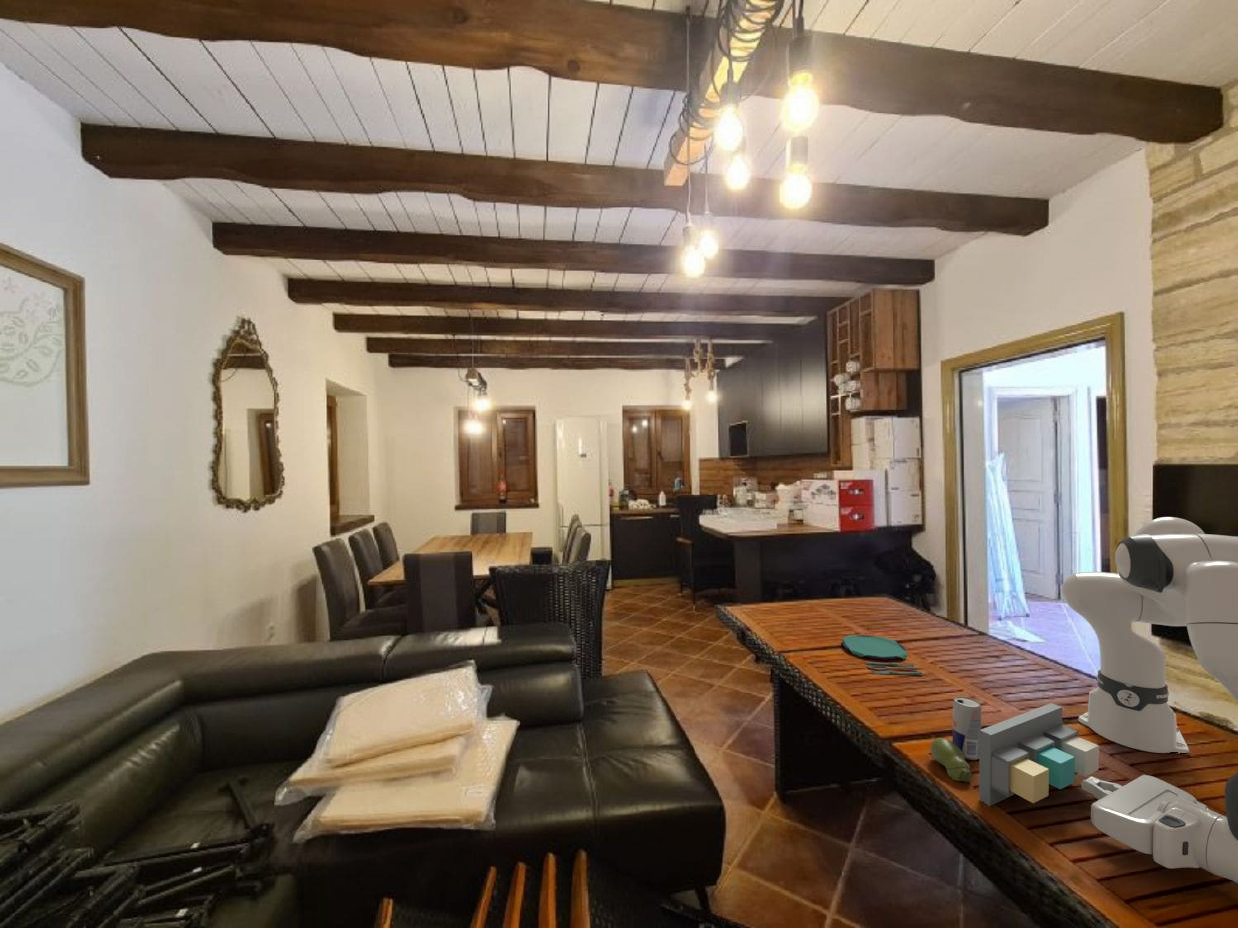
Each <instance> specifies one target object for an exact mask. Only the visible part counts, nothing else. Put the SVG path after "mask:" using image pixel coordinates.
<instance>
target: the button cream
mask: <svg viewBox="0 0 1238 928" xmlns="http://www.w3.org/2000/svg"><path fill="white" fill-rule="evenodd" d="M1062 751H1063V752H1065V753H1067V754H1069V755H1072V756H1074V757H1075V774H1076V773H1077V774H1078V775H1081V776H1082V777H1086V778H1087V777H1089V775H1091V774H1093V773H1095V772H1097V771H1099V762H1100V761H1099V759H1100V758H1099V756H1100V755H1099V754H1100V746H1099V744H1096V743H1094V742H1091V741H1090V740H1087V739H1084V738H1081V737H1080V736H1079V737H1077V736H1072V737H1070V738H1068V739H1066V740H1063V741H1062Z"/></svg>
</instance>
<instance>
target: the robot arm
mask: <svg viewBox="0 0 1238 928" xmlns="http://www.w3.org/2000/svg"><path fill="white" fill-rule="evenodd" d="M1114 560H1115V561H1114V562H1115V567H1116V572H1117V573H1115V572H1105V571H1085V572H1073V573H1071V574H1070V575H1068V576H1067V578H1066V579H1065V580H1064V582H1063V585H1062V597H1063V598H1064V601H1065V603H1066V604H1067V605H1068V607H1069V608H1070V609H1071V610H1072V611H1074V612H1076V613H1077V614H1079V615H1080V616H1081V617H1082V618H1083V619H1084V620H1086V622H1087V623H1088V624H1089V625H1090V626H1091V628H1092V629H1093V631H1094V632H1095V634H1096V638H1097V640H1098V646H1099V656H1100V658H1099V662H1100V665H1099V666H1100V669H1099V670H1098V671H1097V675H1096V680H1097V687H1096V688H1095V689H1092V690H1091V691H1089V694H1088V705H1087V707H1088V708H1087V711H1086V712H1085V713H1083V714H1081V715H1079V716H1078V719H1077V720H1078V722H1080V723H1081V724H1082V725H1084V726H1087V727H1088V728H1089V729H1091V730H1093V732H1094V733H1096V734H1098V735H1099V736H1100V737H1101V736H1102V737H1103V738H1104V739H1107V740H1109V741H1111V742H1114V743H1116V744H1118V745H1122V746H1125V747H1128V748H1130V749H1136V750H1138V751H1143V752H1149V753H1158V754H1159V753H1160V754H1167V753H1170V752H1178V753H1177V754H1180V753H1181V752H1182V753H1187V752H1189V753H1190V749H1189V747H1188V744H1187V743H1186V741H1185V739H1184V737H1183V735H1182V733H1181V730H1180V729H1179V727H1178V725H1177V714H1176V713H1175V712H1174V710H1173V709H1172V708H1171V707H1170V705H1169V704H1168V701H1169V695H1170V694H1169V693H1170V691H1169V689H1168V687H1169V686H1168V685H1167V684H1166V667H1167V657H1166V653H1165V651H1164V649H1162V648H1161V646H1159V644H1157V643H1156V642H1155V641H1153V640H1152V639H1150V638H1147V637H1145V636H1143V635H1141V634H1139V633H1138V632H1135V631H1133V628H1132V623H1134V622H1135V623H1143V624H1152V625H1161V626H1169V627H1186V629H1187V634H1188V636H1189V637H1188V638H1189V641H1190V644H1191V647H1192V649H1193V651H1194V654H1195V655H1196V657H1197V660H1198V662H1199V664H1200V665H1201V667H1202V668H1203V669H1204V670H1205V671H1206V672H1207V673H1208V674H1209V675H1211V676H1212V678H1214V679H1215V680H1216V681H1218V683H1219V684H1221V685H1222V686H1223V687H1224V688H1225V689H1226V690H1227V692H1228V693H1229V694H1230V695H1231V696H1232V697H1233V699H1234V700H1235V701H1236V703H1238V535H1233V536H1232V535H1223V534H1222V535H1221V534H1208V533H1205V532H1204V531H1203V530H1202V528H1201V527H1199V526H1198V525H1197V524H1195V523H1193V522H1192V521H1189V520H1187V519H1184V518H1180V517H1174V516H1163V517H1162V516H1161V517H1157V518H1155V519H1152V520H1149V521H1148V522H1147V523H1145V524H1144V525H1142V527H1140V528H1139V529H1138V530H1137V531H1136V532H1135V533H1134V534H1133V535H1132V534H1131V535H1128V536H1125V537H1123V538H1122V539H1121V540H1120V541H1119V542H1118V544H1117V546H1116V550H1115V554H1114ZM1081 788H1082V790H1083V791H1085V792H1087V793H1089V794H1091V795H1093V796H1094V797H1095V799H1097V801H1094V802H1092V804H1091V805H1090V821H1091V823H1092V825H1094V827H1095V828H1097V830H1099V831H1100V832H1101V833H1104V834H1105V835H1107V836H1109V837H1111V838H1113V839H1114V840H1116V841H1117V842H1119V843H1121V844H1123V845H1126V846H1127V847H1129V848H1131V849H1133V850H1136V852H1137V851H1138V852H1140V853H1142V854H1146V855H1152V859H1153V861H1154V862H1155V863H1157V864H1159V865H1161V866H1163V867H1164V868H1166V869H1172V870H1173V869H1180V868H1182V869H1183V868H1193V869H1199V868H1202V869H1203V870H1205V871H1207V872H1209V873H1211V874H1213V875H1215V876H1219V877H1222V878H1225V879H1227V880H1231V881H1233V882H1235V883H1236V884H1238V772H1237V773H1235V774H1233V775H1232V776H1230V777H1229V778H1228V780H1227V781H1226V783H1225V786H1224V803H1225V804H1224V806H1225V815H1226V816H1225V815H1222V814H1220V813H1218V812H1215V811H1213V810H1212V809H1210V808H1208V806H1207V805H1206V804H1203V803H1202V802H1199V801H1197V798H1196V797H1194V795H1192V794H1190V793H1189V792H1187V791H1185V790H1183V789H1181V788H1178V787H1177V786H1175V785H1173V784H1171V783H1169V782H1166V781H1164V780H1162V779H1160V778H1158V777H1155V776H1152V775H1148V774H1142V775H1140V776H1138V777H1137V778H1135V779H1134V780H1132V781H1130V782H1128V783H1126V784H1124V785H1120V784H1118V783H1116V782H1110V781H1107V780H1102V779H1099V778H1097V777H1094V776H1087V777H1086V778H1085V779H1083V780H1081Z"/></svg>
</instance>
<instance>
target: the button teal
mask: <svg viewBox="0 0 1238 928" xmlns="http://www.w3.org/2000/svg"><path fill="white" fill-rule="evenodd" d="M1037 764H1039V765H1041V766H1043V767H1046V768H1048V769H1049V786H1050V785H1051V786H1053V787H1055V788H1057V789H1058V790H1062V789H1064V788H1066V787H1068V786H1070V785H1072V784H1074V783H1075V776H1076V775H1075V774H1076V772H1075V757H1074V756H1072V755H1069V754H1067V753H1065V752H1063V751H1060V750H1058V749H1056V748H1054V747H1051V746H1050V747H1048V748H1045V749H1043V750H1041V751H1039V752H1037Z"/></svg>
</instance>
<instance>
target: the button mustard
mask: <svg viewBox="0 0 1238 928" xmlns="http://www.w3.org/2000/svg"><path fill="white" fill-rule="evenodd" d="M1049 788H1050V784H1049V769H1048V768H1046V767H1043V766H1041V765H1039V764H1037V763H1035V762H1033V761H1031V760H1029V759H1027V758H1023V759H1020V760H1018V761H1016V762H1014V763H1011V764H1010V791H1011V792H1013V793H1015V794H1014V795H1017V796H1019V797H1021V798H1023V799H1024V800H1026V801H1028V802H1030V803H1032V804H1035V803H1037V802H1039V801H1041V800H1043V799H1045V798H1047V797H1048V796H1050V795H1049V790H1050V789H1049Z"/></svg>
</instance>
